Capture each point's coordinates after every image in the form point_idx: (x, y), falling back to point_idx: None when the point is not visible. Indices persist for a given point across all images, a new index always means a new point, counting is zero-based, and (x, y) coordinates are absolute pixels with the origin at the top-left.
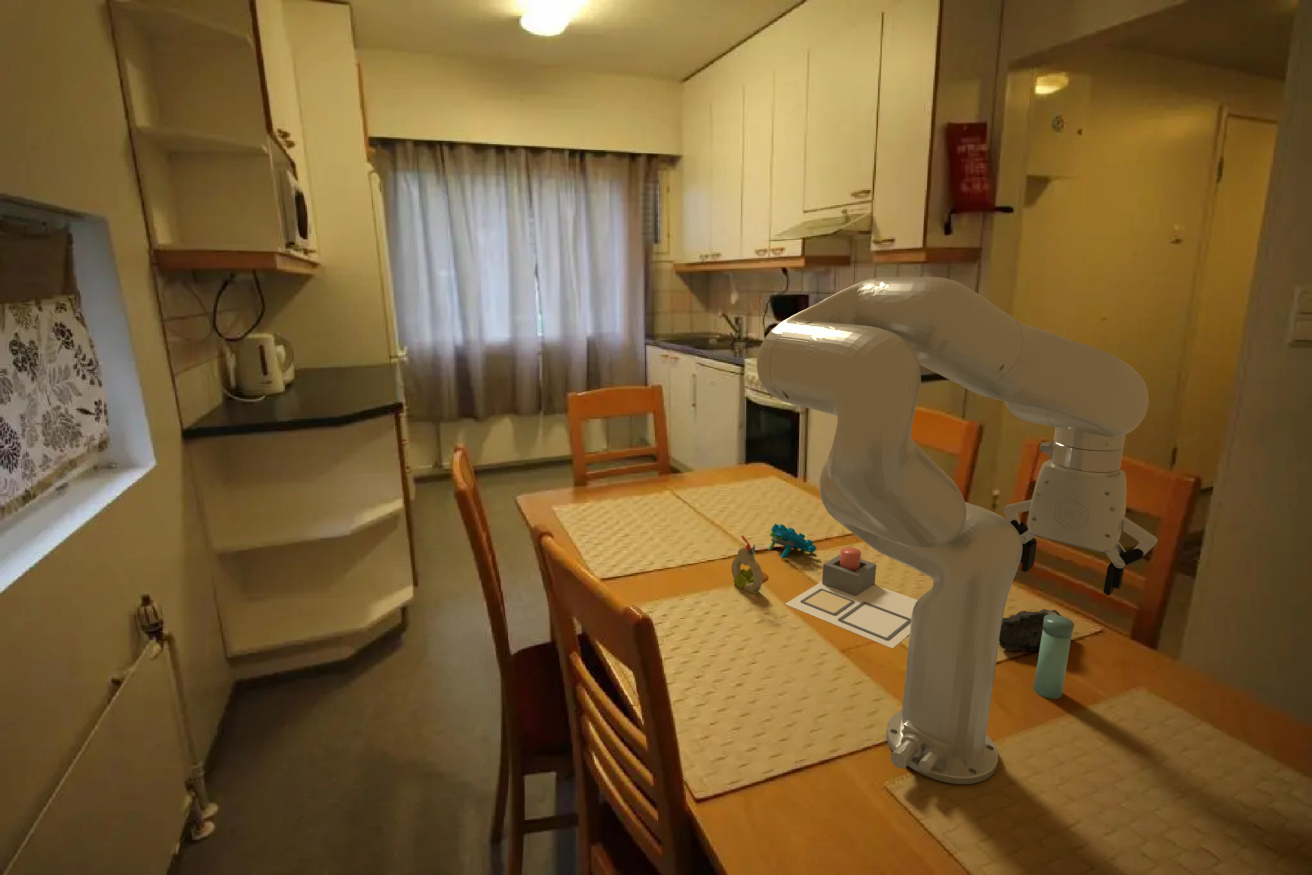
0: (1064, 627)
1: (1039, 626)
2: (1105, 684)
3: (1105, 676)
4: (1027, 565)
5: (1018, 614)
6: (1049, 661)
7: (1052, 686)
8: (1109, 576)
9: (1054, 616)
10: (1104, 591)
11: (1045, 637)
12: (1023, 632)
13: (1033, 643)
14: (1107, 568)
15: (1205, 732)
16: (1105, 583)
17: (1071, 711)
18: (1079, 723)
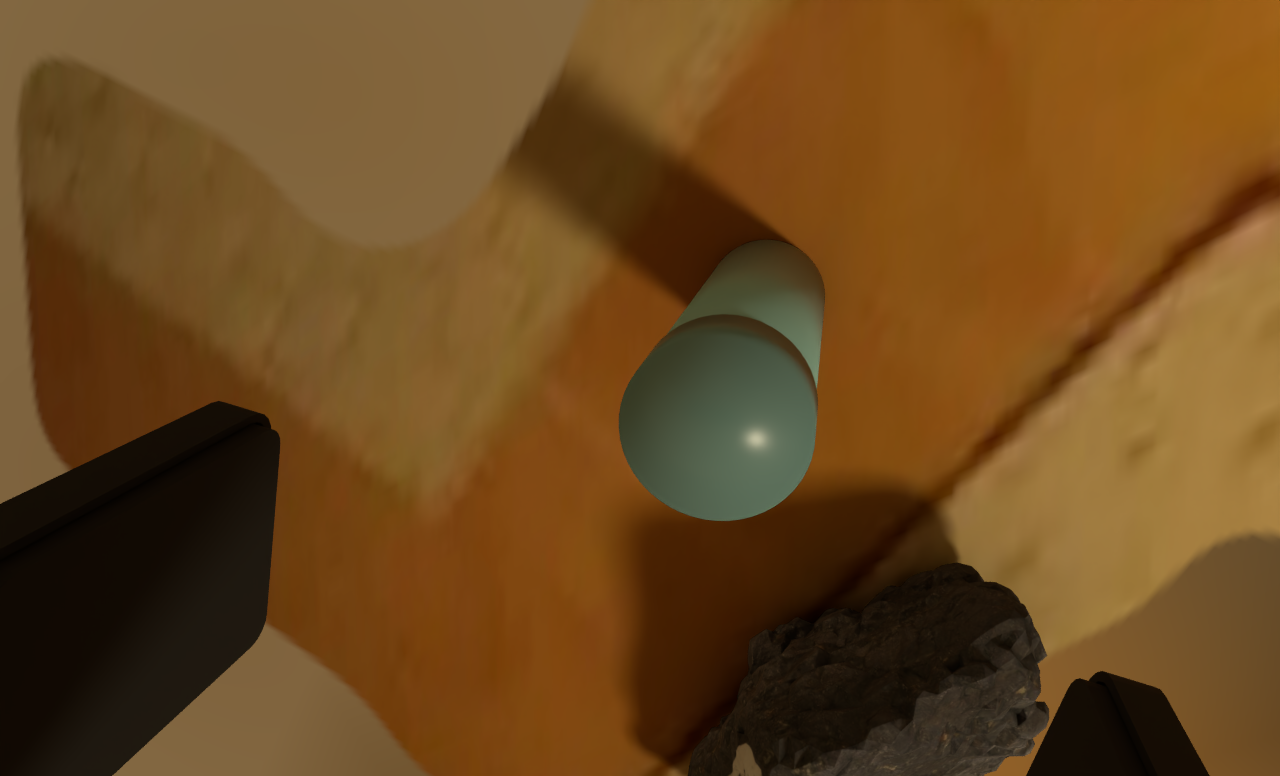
0: (677, 340)
1: (810, 692)
2: (549, 474)
3: (550, 535)
4: (1113, 729)
5: (920, 760)
6: (765, 280)
7: (746, 251)
8: (67, 495)
9: (743, 490)
10: (254, 426)
11: (796, 338)
12: (884, 648)
13: (830, 617)
14: (8, 573)
15: (247, 305)
16: (189, 470)
17: (669, 182)
18: (638, 99)
